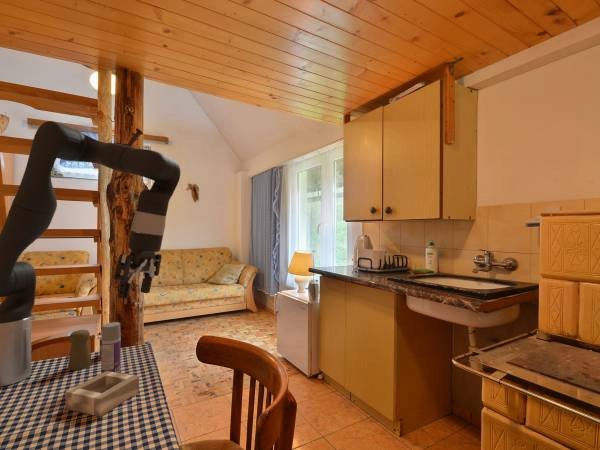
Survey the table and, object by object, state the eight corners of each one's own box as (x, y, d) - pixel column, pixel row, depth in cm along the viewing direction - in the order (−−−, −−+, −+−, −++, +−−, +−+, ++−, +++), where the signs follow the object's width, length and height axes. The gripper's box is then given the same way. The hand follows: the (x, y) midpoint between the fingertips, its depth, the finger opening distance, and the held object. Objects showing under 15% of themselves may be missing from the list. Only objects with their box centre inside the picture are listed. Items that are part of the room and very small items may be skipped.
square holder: (65, 408, 73) (65, 391, 73) (106, 385, 83) (106, 370, 83) (100, 416, 70) (100, 399, 70) (138, 391, 80) (138, 376, 80)
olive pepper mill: (78, 371, 91) (79, 334, 92) (62, 369, 93) (62, 333, 93) (96, 362, 97) (96, 328, 97) (80, 361, 99) (80, 327, 99)
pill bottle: (97, 355, 103) (97, 330, 103) (113, 350, 107) (113, 326, 107) (101, 359, 100) (101, 333, 100) (117, 354, 103) (117, 330, 104)
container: (116, 370, 92) (116, 321, 92) (123, 375, 89) (123, 323, 89) (98, 376, 88) (99, 325, 88) (105, 381, 86) (106, 328, 86)
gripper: (150, 230, 84) (138, 288, 84) (114, 227, 70) (99, 296, 69) (175, 235, 84) (163, 293, 83) (144, 232, 70) (129, 303, 69)
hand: (134, 295), depth 76 cm, fingers open, 8 cm apart
